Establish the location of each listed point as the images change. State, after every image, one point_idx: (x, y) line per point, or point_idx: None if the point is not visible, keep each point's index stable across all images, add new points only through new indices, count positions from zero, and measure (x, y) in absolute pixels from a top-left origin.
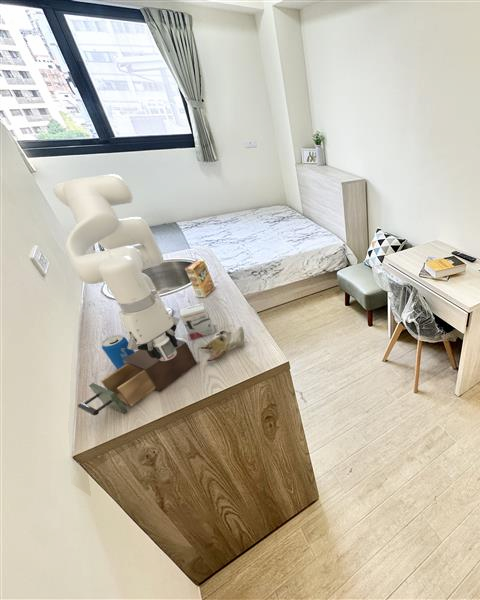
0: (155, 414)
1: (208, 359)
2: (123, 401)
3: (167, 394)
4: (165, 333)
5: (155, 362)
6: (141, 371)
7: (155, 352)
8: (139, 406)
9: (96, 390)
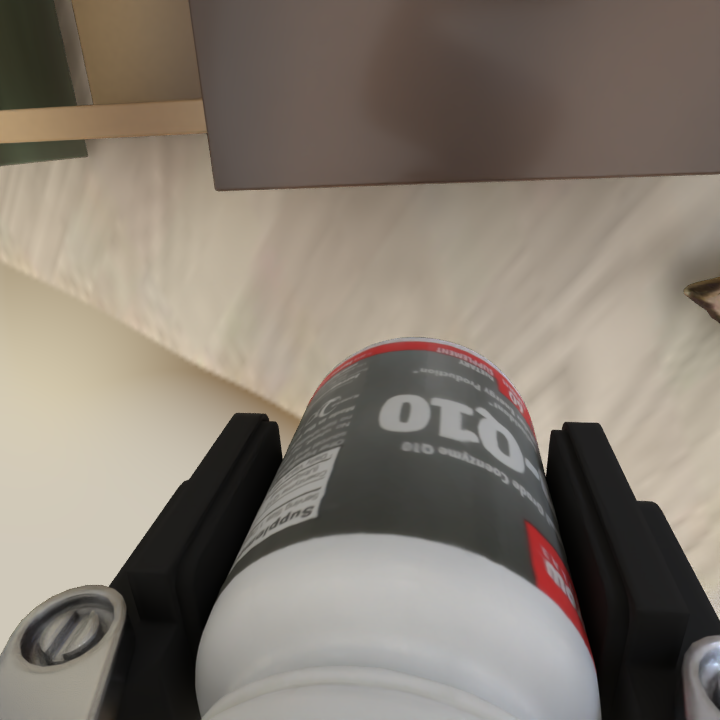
0: (188, 321)
1: (710, 292)
2: (81, 45)
3: (318, 238)
4: (680, 675)
5: (341, 178)
6: (199, 102)
7: None
8: (161, 154)
9: None
